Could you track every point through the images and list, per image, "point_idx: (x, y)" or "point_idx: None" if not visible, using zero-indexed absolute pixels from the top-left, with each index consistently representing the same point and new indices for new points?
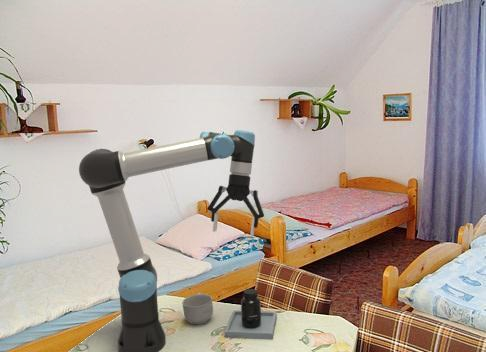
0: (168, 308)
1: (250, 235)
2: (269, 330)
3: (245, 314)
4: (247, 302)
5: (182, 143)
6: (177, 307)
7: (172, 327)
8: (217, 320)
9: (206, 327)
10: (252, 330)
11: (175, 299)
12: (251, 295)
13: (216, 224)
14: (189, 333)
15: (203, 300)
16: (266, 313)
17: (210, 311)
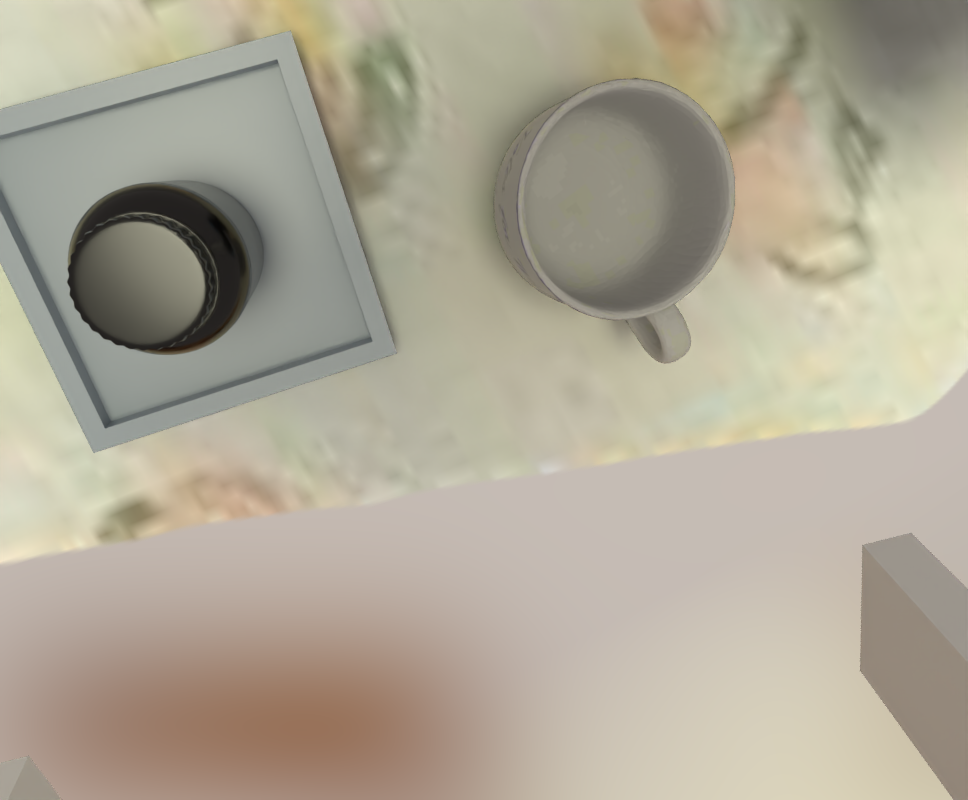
0: (827, 275)
1: (8, 789)
2: (21, 212)
3: (181, 182)
4: (146, 199)
5: None
6: (781, 308)
7: (685, 47)
8: (458, 244)
9: (478, 127)
10: (139, 170)
11: (841, 399)
12: (97, 226)
13: (964, 748)
14: (542, 8)
15: (615, 303)
16: (157, 410)
17: (499, 200)
